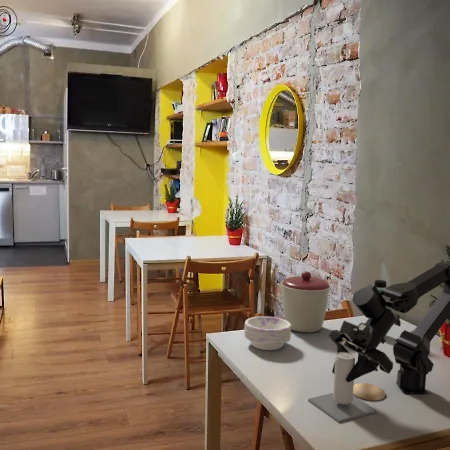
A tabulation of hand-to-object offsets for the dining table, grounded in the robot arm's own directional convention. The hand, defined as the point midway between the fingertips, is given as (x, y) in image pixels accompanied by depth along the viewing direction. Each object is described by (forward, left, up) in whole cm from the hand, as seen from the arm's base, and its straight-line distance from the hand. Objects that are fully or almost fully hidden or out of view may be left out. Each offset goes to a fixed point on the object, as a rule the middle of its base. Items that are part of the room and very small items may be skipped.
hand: (339, 377), depth 132 cm
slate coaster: (-1, -1, -8) cm, 8 cm away
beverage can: (-1, -1, -7) cm, 7 cm away
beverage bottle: (-26, -54, -8) cm, 60 cm away
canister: (-1, -60, -8) cm, 60 cm away
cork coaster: (-10, -9, -8) cm, 15 cm away
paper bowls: (+14, -42, -8) cm, 45 cm away
